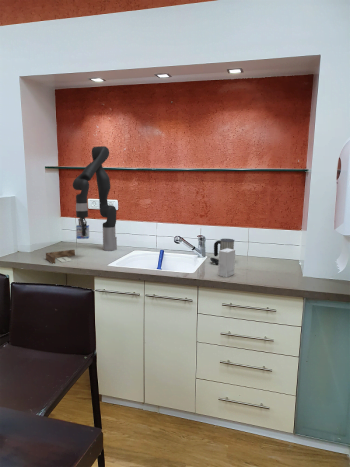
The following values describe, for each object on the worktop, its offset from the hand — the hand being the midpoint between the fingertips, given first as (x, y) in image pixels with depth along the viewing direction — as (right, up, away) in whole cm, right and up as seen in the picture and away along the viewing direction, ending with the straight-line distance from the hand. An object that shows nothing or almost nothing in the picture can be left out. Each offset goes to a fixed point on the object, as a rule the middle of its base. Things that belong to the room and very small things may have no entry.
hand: (82, 235), depth 231 cm
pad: (-12, -16, -2) cm, 20 cm away
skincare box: (+91, -23, -33) cm, 99 cm away
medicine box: (0, -2, 0) cm, 2 cm away
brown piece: (-12, -16, -2) cm, 20 cm away
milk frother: (+92, -18, -5) cm, 94 cm away
